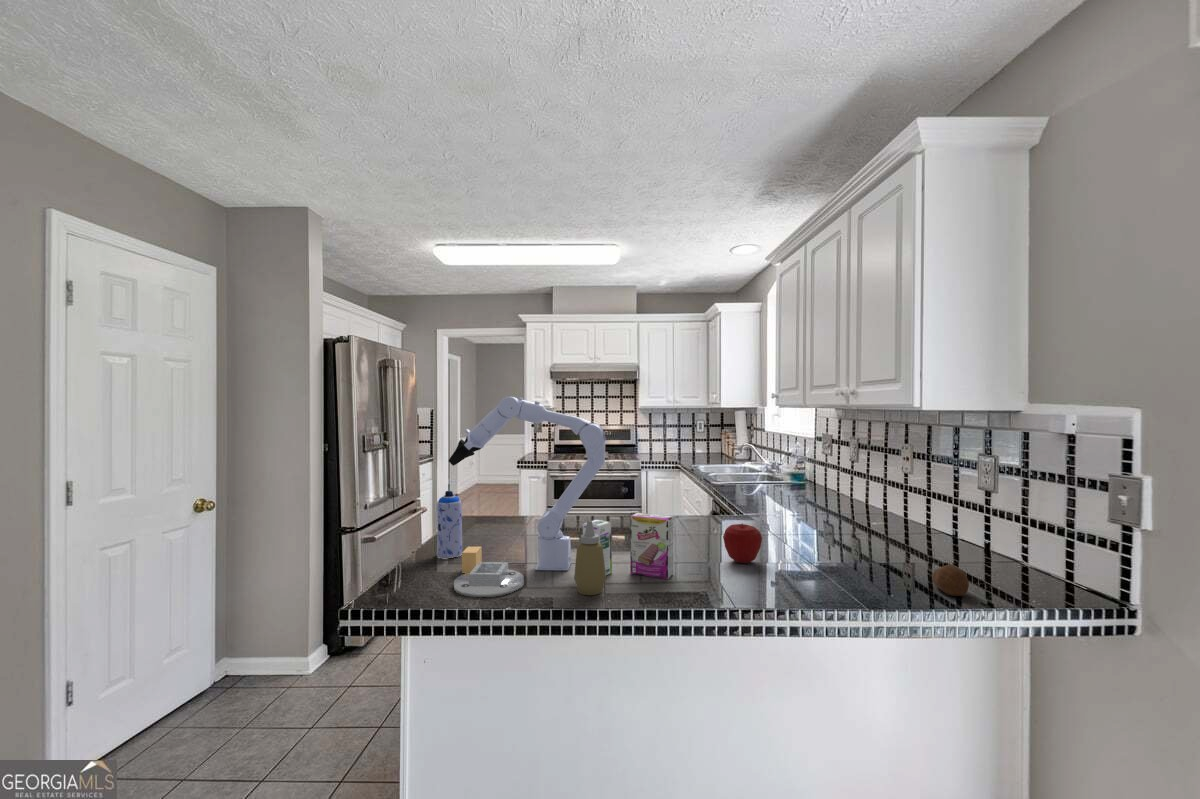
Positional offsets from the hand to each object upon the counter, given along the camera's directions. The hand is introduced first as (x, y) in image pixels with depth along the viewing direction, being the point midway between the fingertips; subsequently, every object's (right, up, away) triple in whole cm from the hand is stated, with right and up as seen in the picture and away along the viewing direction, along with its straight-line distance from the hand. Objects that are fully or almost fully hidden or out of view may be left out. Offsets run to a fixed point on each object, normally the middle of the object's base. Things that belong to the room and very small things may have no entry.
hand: (454, 460), depth 167 cm
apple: (+84, -30, +2) cm, 90 cm away
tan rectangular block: (+6, -31, -3) cm, 32 cm away
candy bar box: (+57, -31, -8) cm, 65 cm away
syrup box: (+42, -31, -7) cm, 52 cm away
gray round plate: (+13, -31, -16) cm, 37 cm away
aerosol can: (-4, -31, +11) cm, 33 cm away
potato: (+130, -31, -24) cm, 136 cm away
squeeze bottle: (+40, -31, -21) cm, 55 cm away
